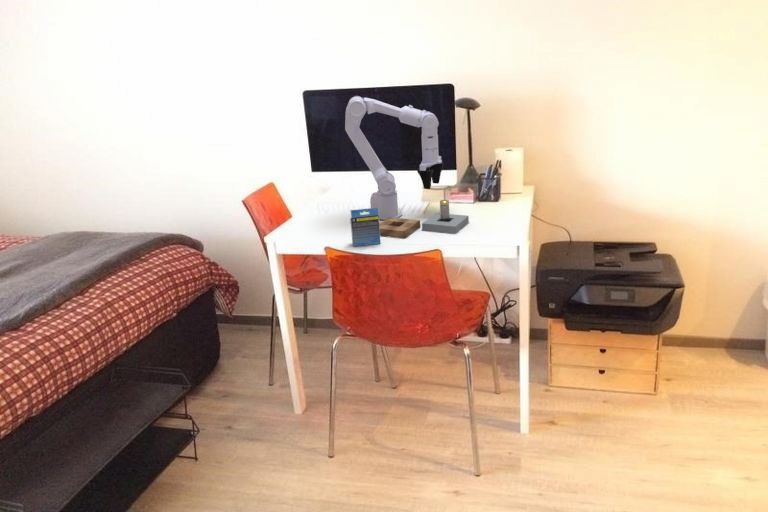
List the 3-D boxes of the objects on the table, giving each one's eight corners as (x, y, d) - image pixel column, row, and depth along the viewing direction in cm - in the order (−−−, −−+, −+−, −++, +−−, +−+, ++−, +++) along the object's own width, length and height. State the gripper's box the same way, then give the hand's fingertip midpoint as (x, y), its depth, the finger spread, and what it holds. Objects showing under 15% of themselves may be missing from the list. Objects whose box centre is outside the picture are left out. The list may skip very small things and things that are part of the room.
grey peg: (439, 227, 206) (438, 202, 202) (442, 224, 208) (441, 199, 205) (448, 228, 205) (447, 202, 201) (450, 225, 207) (449, 199, 204)
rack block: (422, 230, 204) (421, 223, 203) (436, 219, 214) (436, 212, 213) (455, 233, 199) (455, 226, 198) (468, 222, 208) (468, 215, 208)
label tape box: (379, 240, 198) (376, 203, 194) (380, 244, 194) (378, 207, 190) (352, 243, 197) (348, 206, 193) (353, 247, 193) (350, 210, 189)
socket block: (373, 234, 203) (372, 227, 202) (389, 223, 213) (389, 217, 212) (405, 238, 198) (404, 231, 197) (420, 227, 208) (420, 220, 207)
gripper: (432, 152, 204) (433, 191, 209) (448, 144, 216) (449, 181, 221) (413, 152, 207) (415, 190, 212) (430, 143, 219) (432, 180, 224)
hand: (431, 185), depth 217 cm, fingers open, 7 cm apart
